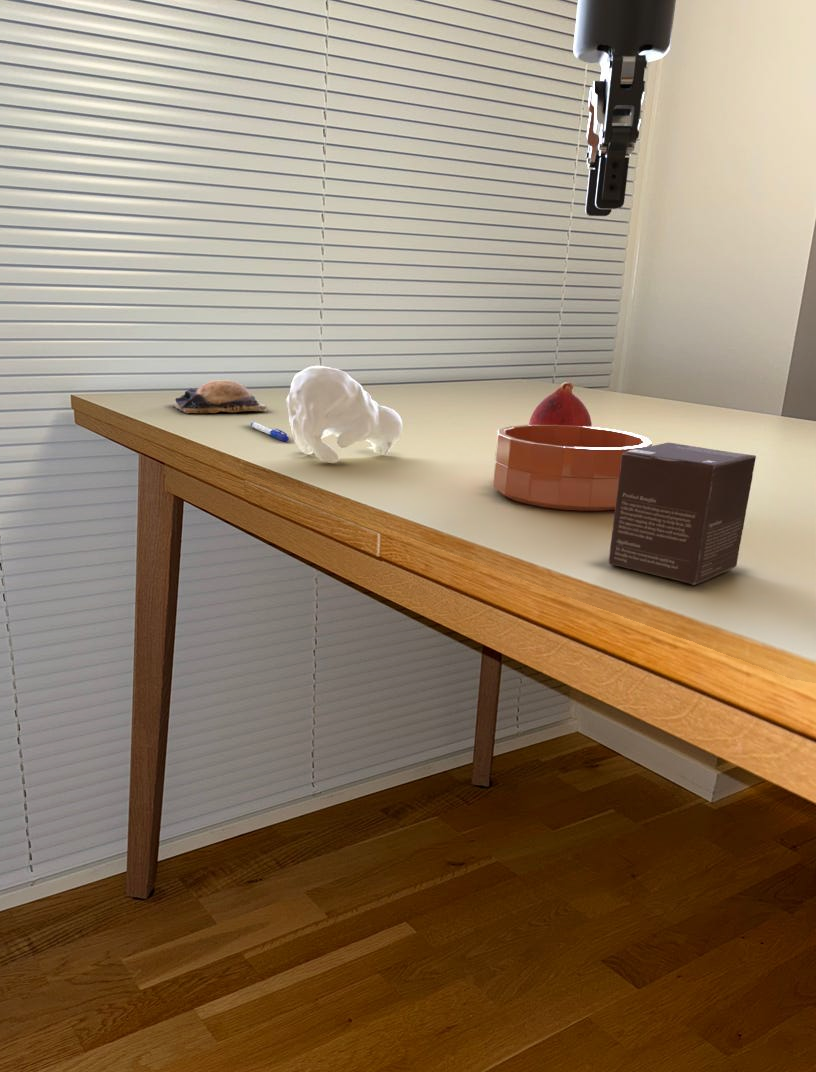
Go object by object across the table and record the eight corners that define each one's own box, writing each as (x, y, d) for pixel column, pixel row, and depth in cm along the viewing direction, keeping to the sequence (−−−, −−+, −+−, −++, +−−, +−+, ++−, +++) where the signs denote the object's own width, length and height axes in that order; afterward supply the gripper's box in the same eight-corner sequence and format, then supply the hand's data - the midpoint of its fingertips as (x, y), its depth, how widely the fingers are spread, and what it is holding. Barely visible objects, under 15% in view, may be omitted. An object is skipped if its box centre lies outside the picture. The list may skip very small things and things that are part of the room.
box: (738, 570, 61) (760, 455, 59) (694, 588, 58) (715, 466, 55) (651, 549, 66) (668, 441, 63) (604, 565, 62) (620, 450, 59)
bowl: (630, 486, 86) (638, 429, 84) (652, 518, 74) (663, 453, 72) (491, 477, 87) (497, 421, 85) (493, 507, 76) (499, 443, 74)
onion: (555, 475, 89) (565, 386, 86) (511, 464, 93) (520, 379, 90) (598, 470, 92) (610, 384, 89) (554, 460, 96) (564, 377, 93)
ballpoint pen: (291, 442, 101) (292, 433, 101) (284, 442, 101) (284, 433, 100) (254, 427, 110) (254, 418, 110) (247, 427, 110) (247, 418, 109)
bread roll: (250, 404, 128) (250, 376, 127) (269, 413, 120) (269, 383, 119) (171, 405, 124) (170, 375, 123) (185, 414, 117) (184, 383, 115)
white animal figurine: (283, 360, 91) (389, 371, 97) (274, 451, 94) (378, 456, 99) (314, 367, 86) (425, 378, 92) (304, 463, 88) (412, 467, 94)
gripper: (695, -42, 69) (662, 207, 74) (661, 10, 82) (636, 218, 88) (587, -40, 70) (563, 206, 75) (571, 11, 83) (552, 217, 89)
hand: (602, 212), depth 81 cm, fingers open, 8 cm apart
